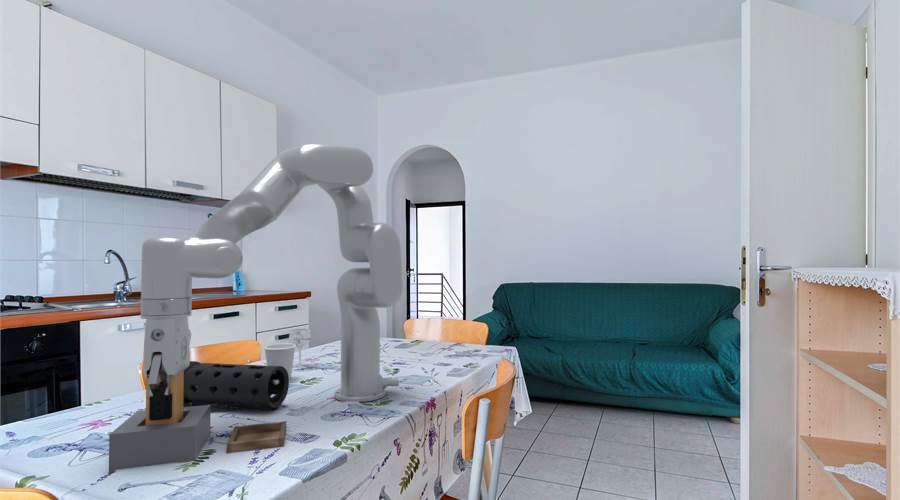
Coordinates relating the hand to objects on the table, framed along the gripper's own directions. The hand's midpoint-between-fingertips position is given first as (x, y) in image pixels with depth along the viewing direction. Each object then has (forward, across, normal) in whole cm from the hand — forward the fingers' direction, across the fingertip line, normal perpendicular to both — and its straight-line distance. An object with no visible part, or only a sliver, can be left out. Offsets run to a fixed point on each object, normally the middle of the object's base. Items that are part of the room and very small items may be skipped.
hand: (165, 413), depth 78 cm
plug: (+3, 0, 0) cm, 3 cm away
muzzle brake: (+7, +25, -5) cm, 26 cm away
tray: (+7, 0, -15) cm, 16 cm away
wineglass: (+7, +62, -21) cm, 66 cm away
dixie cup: (+7, +46, -16) cm, 49 cm away
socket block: (+7, 0, 0) cm, 7 cm away
